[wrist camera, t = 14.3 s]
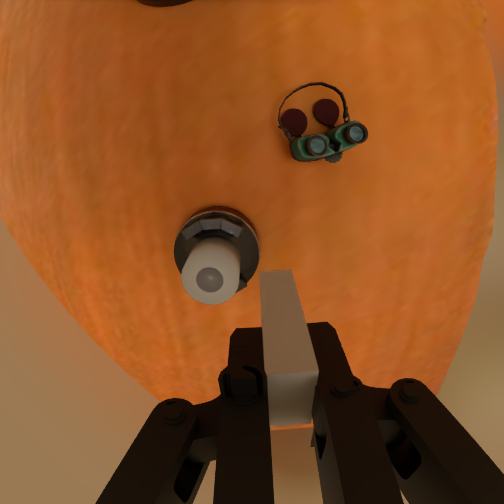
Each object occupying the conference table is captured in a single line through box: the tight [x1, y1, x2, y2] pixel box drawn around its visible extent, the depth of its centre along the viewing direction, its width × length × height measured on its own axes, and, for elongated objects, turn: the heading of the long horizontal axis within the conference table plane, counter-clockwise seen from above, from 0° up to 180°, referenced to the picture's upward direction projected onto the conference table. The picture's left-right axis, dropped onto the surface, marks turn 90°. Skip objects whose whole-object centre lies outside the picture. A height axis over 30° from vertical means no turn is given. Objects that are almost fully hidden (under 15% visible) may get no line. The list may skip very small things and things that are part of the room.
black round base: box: [174, 206, 260, 293], centre depth 39 cm, size 11×11×6 cm
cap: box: [181, 234, 241, 304], centre depth 35 cm, size 6×6×6 cm
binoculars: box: [278, 82, 368, 163], centre depth 30 cm, size 9×11×10 cm
